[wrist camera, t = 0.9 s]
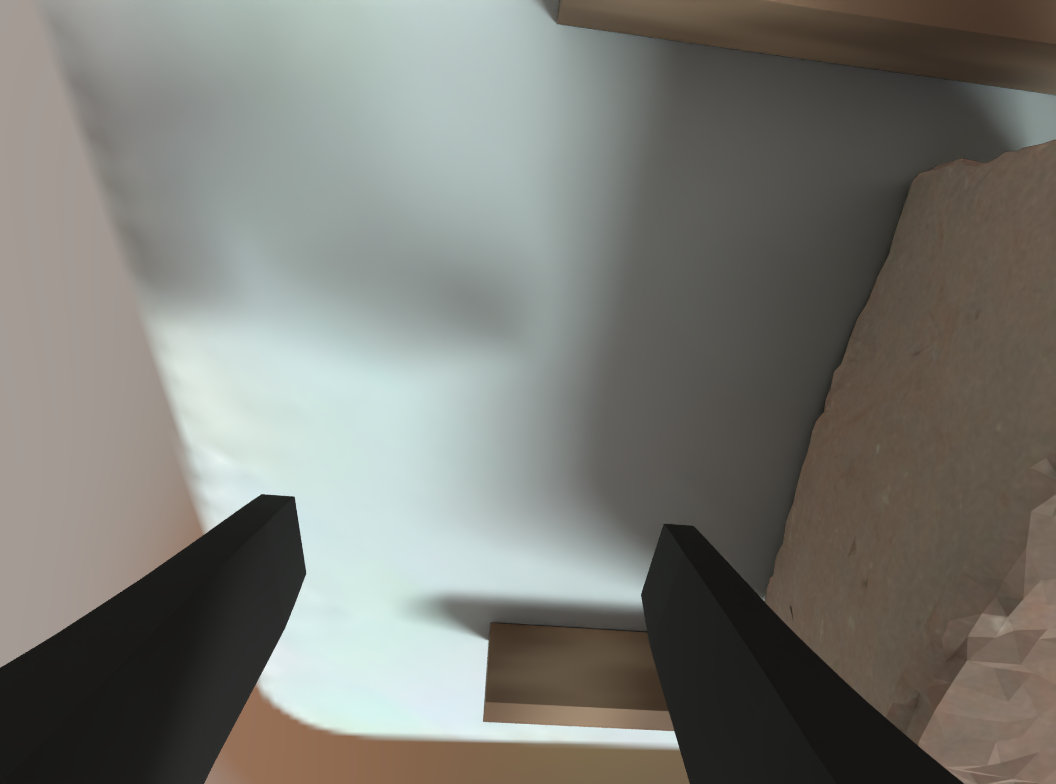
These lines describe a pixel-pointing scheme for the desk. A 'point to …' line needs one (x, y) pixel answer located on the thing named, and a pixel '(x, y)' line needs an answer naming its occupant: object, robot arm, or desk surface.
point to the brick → (944, 479)
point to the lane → (793, 31)
